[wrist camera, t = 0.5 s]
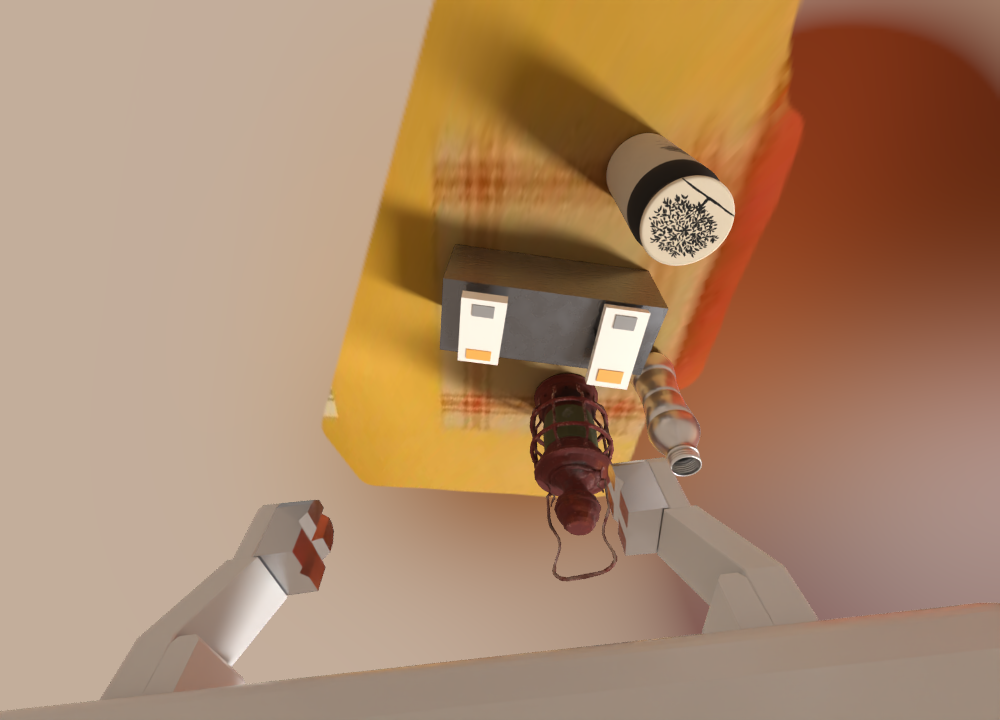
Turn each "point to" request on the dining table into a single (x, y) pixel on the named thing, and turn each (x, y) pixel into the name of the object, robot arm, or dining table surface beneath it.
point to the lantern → (572, 456)
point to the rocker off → (616, 346)
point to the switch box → (548, 303)
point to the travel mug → (669, 200)
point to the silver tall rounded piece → (668, 415)
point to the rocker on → (481, 327)
